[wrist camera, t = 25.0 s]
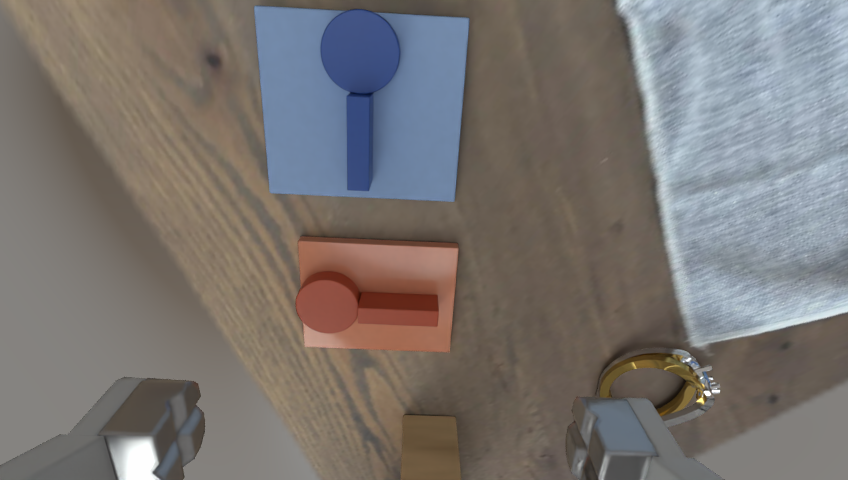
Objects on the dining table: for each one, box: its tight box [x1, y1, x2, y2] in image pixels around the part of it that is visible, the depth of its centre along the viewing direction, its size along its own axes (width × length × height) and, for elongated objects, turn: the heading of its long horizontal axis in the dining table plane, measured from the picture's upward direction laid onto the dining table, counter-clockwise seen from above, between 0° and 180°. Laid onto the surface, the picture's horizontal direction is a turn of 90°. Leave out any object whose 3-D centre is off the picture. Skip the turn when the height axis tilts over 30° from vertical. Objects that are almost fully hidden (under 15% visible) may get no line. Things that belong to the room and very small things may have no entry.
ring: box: [596, 348, 720, 427], centre depth 34 cm, size 7×3×8 cm
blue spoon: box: [320, 9, 401, 191], centre depth 25 cm, size 9×4×2 cm, turn 177°
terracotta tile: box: [298, 236, 459, 352], centre depth 31 cm, size 8×10×1 cm
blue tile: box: [254, 6, 470, 202], centre depth 26 cm, size 10×11×1 cm
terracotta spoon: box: [296, 271, 439, 333], centre depth 30 cm, size 9×4×2 cm, turn 87°
